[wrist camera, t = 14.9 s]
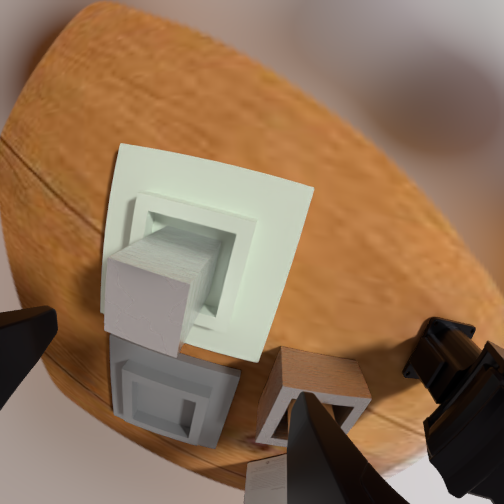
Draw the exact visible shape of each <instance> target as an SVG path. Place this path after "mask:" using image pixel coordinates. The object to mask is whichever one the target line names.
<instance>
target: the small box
mask: <svg viewBox="0 0 504 504" xmlns="http://www.w3.org/2000/svg"><path fill="white" fill-rule="evenodd" d="M244 504H287V454H284V455H281V456H277V457H272V458H268V459H264V460H259V461H254V462H249V463H247V473H246V484H245V495H244Z"/></svg>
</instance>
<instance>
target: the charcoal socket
mask: <svg viewBox="0 0 504 504" xmlns="http://www.w3.org/2000/svg"><path fill="white" fill-rule="evenodd" d="M110 370H111V387H112V400H113V410H114V415H115V416H117V417H120V418H122V419H124V421H126V422H129V423H131V424H133V425H136V426H139V427H141V428H144V429H146V430H149V431H152V432H155V433H157V434H160V435H163V436H166V437H169V438H172V439H176V440H179V441H182V442H185V443H189V444H192V445H196V446H197V445H201V446H204V447H208V448H212V449H215V448H216V445H217V442H218V440H219V437H220V434H221V431H222V428H223V426H224V423H225V420H226V417H227V414H228V411H229V408H230V406H231V403H232V400H233V397H234V394H235V391H236V388H237V385H238V382H239V379H240V375H241V370H238V369H234V368H230V367H226V366H222V365H219V364H215V363H211V362H208V361H205V360H201V359H198V358H194V357H191V356H188V355H185V354H181V353H179V354H178V356H177V358H175V357H172V356H169V355H167V354H164V353H161V352H158V351H155V350H152V349H150V348H147V347H144V346H142V345H139V344H136V343H134V342H131V341H129V340H126V339H124V338H121V337H119V336H116V335H114V334H112V333H111V334H110Z"/></svg>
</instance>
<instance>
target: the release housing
mask: <svg viewBox="0 0 504 504" xmlns="http://www.w3.org/2000/svg"><path fill="white" fill-rule="evenodd" d="M302 391H305V392H312V393H314V394H315V395H316V397H317V398H318V399H319V401H320V402H321V403H325V404H332V408H333V413H334V418H335V421H336V422H337V424H338V425H339V426H340V427H341V429H342V430H343V431H344V432H345V434H347V433H348V432H349V430H350V429H351V428H352V427H353V425H354V424H355V422H356V421H357V420H358V418H359V417H360V416H361V414H362V413H363V411H364V410H365V408H366V407H367V406H368V404H369V403H370V401H371V400H372V397H371V394H370V392H369V389H368V387H367V384H366V382H365V379H364V377H363V374H362V372H361V369H360V367H359V364H358V362H357V361H355V360H349V359H343V358H338V357H332V356H327V355H322V354H317V353H312V352H307V351H302V350H297V349H293V348H288V347H284V346H281V348H280V351H279V353H278V356H277V358H276V361H275V363H274V366H273V368H272V371H271V373H270V376H269V378H268V381H267V383H266V385H265V388H264V390H263V393H262V395H261V397H260V400H259V402H258V413H257V426H256V438H255V442H258V443H263V444H269V445H276V446H283V447H287V443H288V409H287V407H288V405H289V403H290V401H291V399H297V398H298V396H299V394H300V393H301V392H302Z"/></svg>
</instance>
